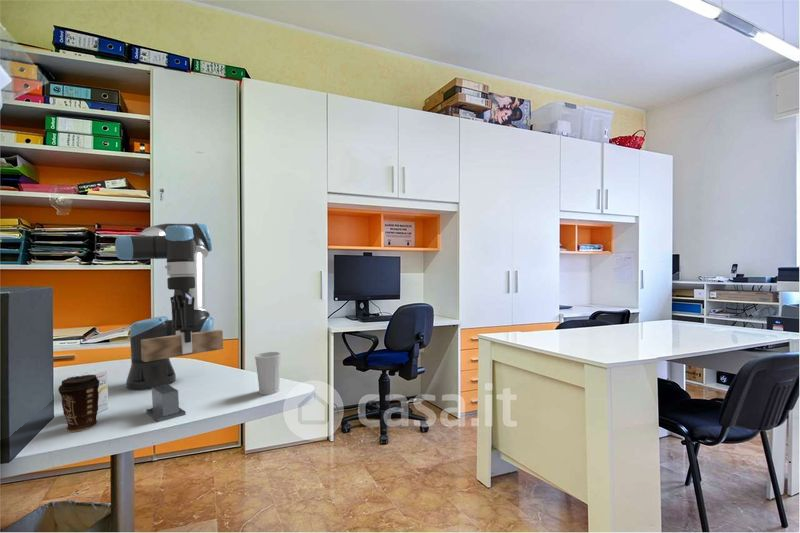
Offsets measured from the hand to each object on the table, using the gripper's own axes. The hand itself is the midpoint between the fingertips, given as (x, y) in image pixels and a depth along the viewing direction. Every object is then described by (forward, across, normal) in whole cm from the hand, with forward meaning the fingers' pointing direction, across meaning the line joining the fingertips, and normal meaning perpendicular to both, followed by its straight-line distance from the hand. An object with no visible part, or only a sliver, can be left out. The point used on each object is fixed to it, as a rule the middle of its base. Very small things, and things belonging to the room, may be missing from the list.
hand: (184, 352), depth 126 cm
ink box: (+15, -13, -22) cm, 30 cm away
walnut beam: (+1, 0, 0) cm, 1 cm away
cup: (+15, +12, +21) cm, 29 cm away
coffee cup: (+16, -2, -25) cm, 30 cm away
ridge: (+15, +6, -8) cm, 18 cm away
